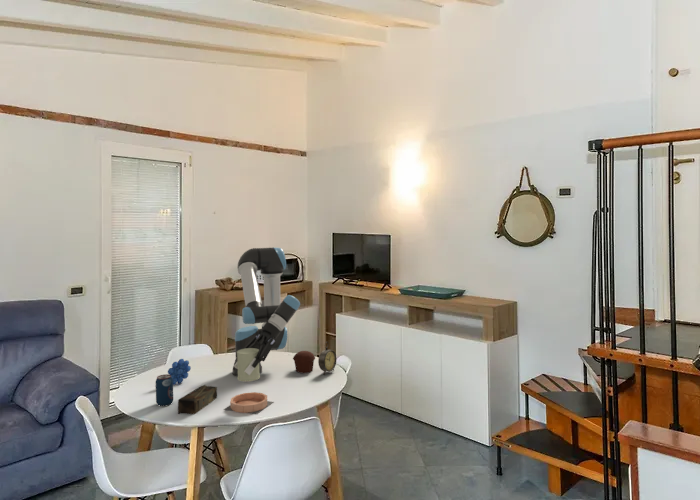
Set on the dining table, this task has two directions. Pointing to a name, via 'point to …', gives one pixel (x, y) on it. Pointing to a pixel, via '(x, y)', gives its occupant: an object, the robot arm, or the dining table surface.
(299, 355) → the muffin
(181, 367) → the grapes
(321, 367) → the alarm clock
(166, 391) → the soda can
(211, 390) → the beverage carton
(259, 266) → the robot arm
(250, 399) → the bowl
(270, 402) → the mat
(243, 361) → the can
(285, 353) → the dining table surface
